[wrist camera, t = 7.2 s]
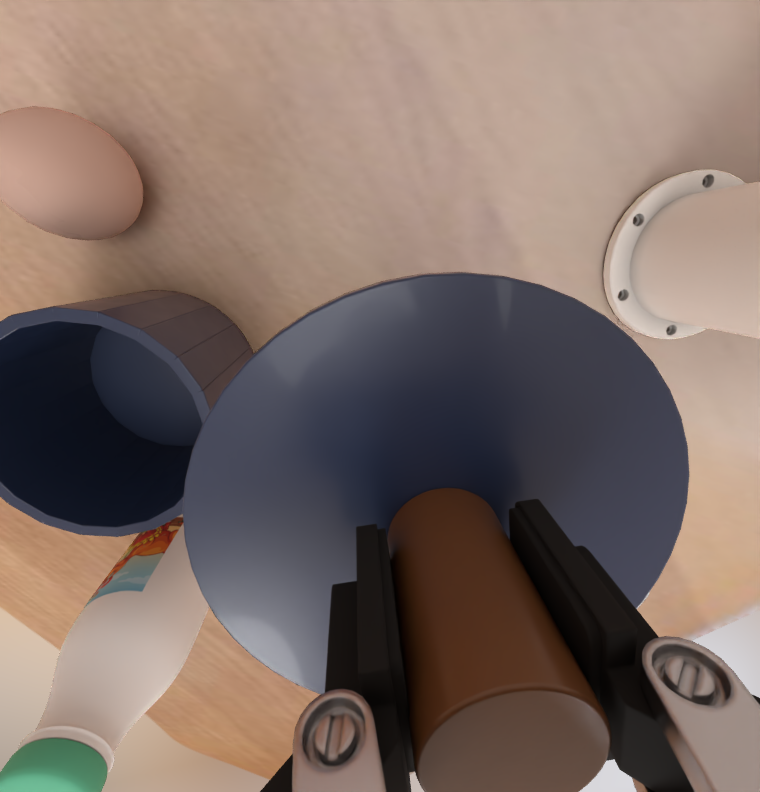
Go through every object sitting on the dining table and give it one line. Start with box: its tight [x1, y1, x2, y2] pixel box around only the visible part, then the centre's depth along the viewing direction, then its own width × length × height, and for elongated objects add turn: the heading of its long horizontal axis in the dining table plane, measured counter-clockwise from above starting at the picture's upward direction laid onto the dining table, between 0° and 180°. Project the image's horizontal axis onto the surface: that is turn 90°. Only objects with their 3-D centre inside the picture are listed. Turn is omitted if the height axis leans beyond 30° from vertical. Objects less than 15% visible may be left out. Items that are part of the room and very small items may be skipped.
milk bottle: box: [0, 514, 210, 792], centre depth 28 cm, size 8×8×20 cm
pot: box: [0, 290, 253, 537], centre depth 28 cm, size 13×13×12 cm
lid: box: [183, 272, 689, 792], centre depth 10 cm, size 14×14×7 cm
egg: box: [0, 106, 143, 240], centre depth 24 cm, size 7×7×10 cm
